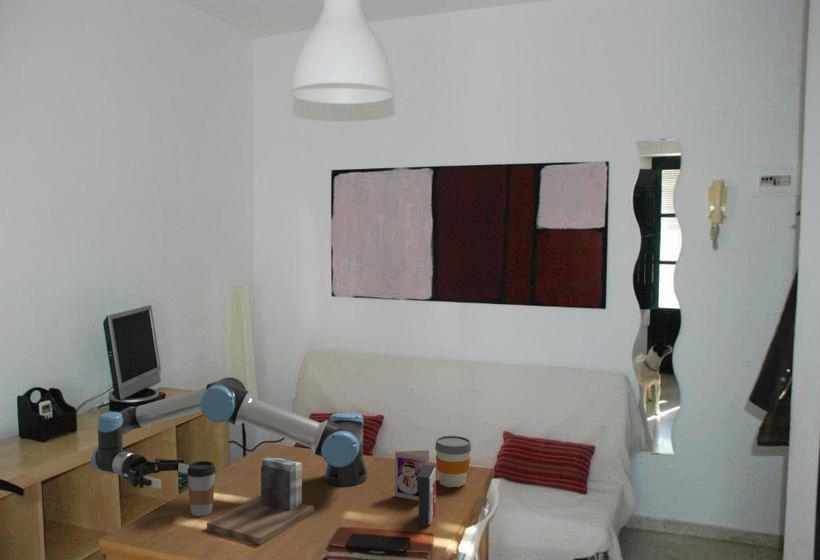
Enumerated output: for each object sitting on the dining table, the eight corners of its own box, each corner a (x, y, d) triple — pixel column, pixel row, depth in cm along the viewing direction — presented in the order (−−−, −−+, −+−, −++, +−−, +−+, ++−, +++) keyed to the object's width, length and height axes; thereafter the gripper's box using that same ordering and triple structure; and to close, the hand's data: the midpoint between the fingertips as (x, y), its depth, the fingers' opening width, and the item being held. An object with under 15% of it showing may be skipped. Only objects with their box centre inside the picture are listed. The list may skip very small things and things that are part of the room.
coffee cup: (191, 507, 210) (190, 460, 209) (218, 506, 210) (218, 460, 209) (184, 518, 201) (184, 470, 200) (212, 518, 202) (212, 469, 201)
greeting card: (393, 496, 221) (393, 452, 220) (403, 489, 227) (403, 446, 226) (424, 503, 216) (425, 457, 215) (433, 495, 222) (434, 451, 221)
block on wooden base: (206, 529, 194) (206, 475, 193) (263, 499, 216) (263, 451, 215) (260, 545, 185) (260, 489, 184) (313, 512, 207) (314, 462, 206)
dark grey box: (430, 527, 198) (431, 477, 197) (416, 525, 199) (417, 476, 198) (436, 512, 209) (437, 465, 208) (423, 510, 210) (423, 464, 209)
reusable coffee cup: (433, 488, 228) (433, 445, 227) (435, 475, 241) (436, 434, 240) (469, 490, 227) (470, 447, 226) (470, 477, 239) (471, 436, 238)
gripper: (160, 465, 231) (206, 476, 221) (97, 489, 209) (145, 502, 199) (160, 443, 230) (206, 454, 220) (97, 465, 208) (145, 478, 198)
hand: (177, 477), depth 210 cm, fingers open, 13 cm apart
